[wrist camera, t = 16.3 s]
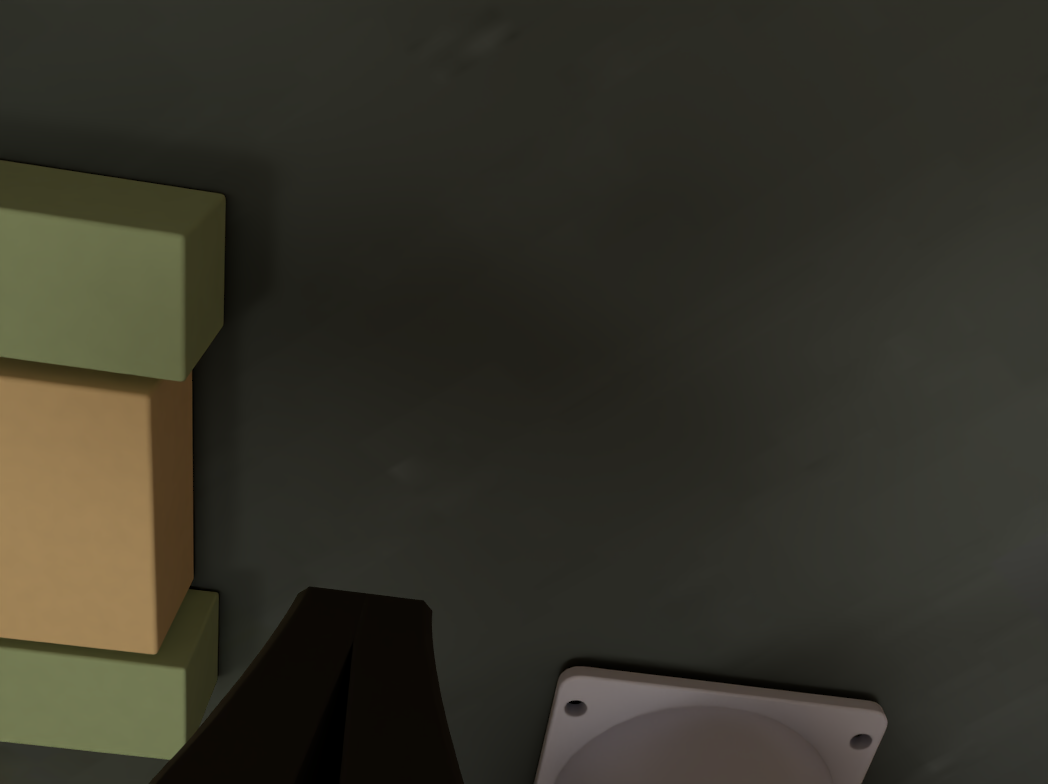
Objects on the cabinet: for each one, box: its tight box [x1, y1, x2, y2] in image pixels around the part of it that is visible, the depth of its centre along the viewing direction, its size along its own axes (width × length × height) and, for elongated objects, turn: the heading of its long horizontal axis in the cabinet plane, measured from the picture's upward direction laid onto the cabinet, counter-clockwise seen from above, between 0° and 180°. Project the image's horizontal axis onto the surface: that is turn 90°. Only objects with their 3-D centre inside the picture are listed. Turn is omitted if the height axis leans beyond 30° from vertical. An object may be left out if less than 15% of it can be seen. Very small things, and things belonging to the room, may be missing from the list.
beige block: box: [0, 357, 194, 655], centre depth 19 cm, size 6×5×2 cm
